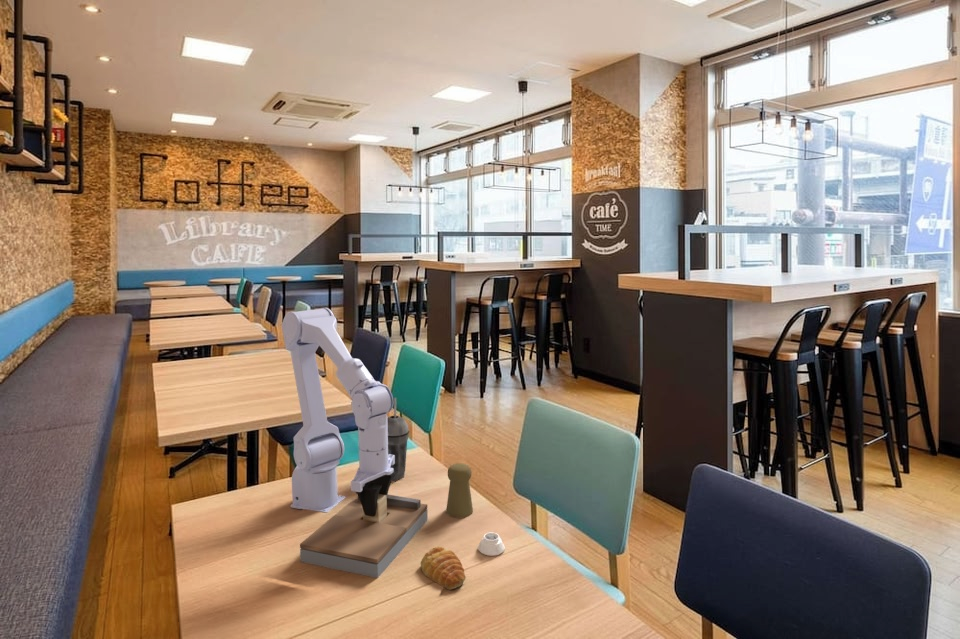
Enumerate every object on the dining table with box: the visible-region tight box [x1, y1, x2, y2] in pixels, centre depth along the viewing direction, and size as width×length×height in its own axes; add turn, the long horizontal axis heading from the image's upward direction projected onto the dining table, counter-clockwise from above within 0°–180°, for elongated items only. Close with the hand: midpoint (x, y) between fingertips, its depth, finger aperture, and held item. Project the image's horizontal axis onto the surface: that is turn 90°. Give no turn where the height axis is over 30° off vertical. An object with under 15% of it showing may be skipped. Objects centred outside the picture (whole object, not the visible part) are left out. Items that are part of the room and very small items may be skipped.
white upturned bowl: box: [477, 531, 506, 556], centre depth 115 cm, size 5×3×5 cm
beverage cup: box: [387, 397, 410, 481], centre depth 147 cm, size 7×7×20 cm
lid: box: [299, 494, 428, 564], centre depth 117 cm, size 16×22×2 cm
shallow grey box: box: [299, 508, 428, 579], centre depth 118 cm, size 16×22×3 cm
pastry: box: [420, 546, 467, 590], centre depth 106 cm, size 9×7×4 cm
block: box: [363, 494, 387, 523], centre depth 120 cm, size 4×4×7 cm
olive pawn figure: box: [445, 462, 474, 519], centre depth 129 cm, size 6×6×11 cm
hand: (374, 510), depth 120 cm, fingers closed on block, 3 cm apart
